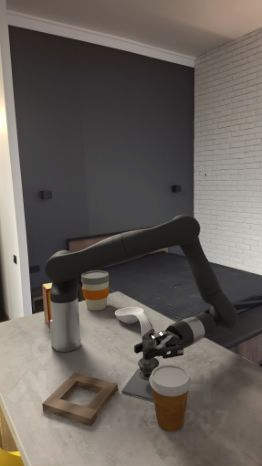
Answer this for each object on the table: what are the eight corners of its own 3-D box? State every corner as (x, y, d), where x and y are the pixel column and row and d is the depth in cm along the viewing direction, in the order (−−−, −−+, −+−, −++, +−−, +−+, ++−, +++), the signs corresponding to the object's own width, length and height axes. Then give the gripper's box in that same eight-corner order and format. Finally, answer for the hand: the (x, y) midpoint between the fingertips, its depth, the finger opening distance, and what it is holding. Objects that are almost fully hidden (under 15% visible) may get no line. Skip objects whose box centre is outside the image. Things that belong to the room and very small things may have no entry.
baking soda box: (48, 327, 126) (45, 288, 124) (44, 321, 132) (41, 283, 129) (72, 321, 131) (69, 283, 128) (67, 315, 136) (64, 279, 134)
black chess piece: (158, 382, 85) (156, 340, 83) (136, 380, 86) (134, 338, 84) (160, 369, 91) (159, 329, 89) (140, 367, 92) (138, 328, 90)
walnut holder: (42, 410, 80) (42, 403, 80) (74, 378, 93) (74, 372, 93) (91, 426, 75) (90, 418, 74) (117, 390, 87) (117, 383, 87)
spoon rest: (111, 317, 134) (110, 301, 133) (137, 312, 138) (136, 296, 137) (133, 343, 112) (133, 324, 111) (163, 336, 117) (163, 317, 116)
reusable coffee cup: (99, 314, 137) (97, 280, 135) (76, 308, 144) (74, 276, 141) (116, 304, 148) (114, 272, 145) (94, 299, 154) (92, 269, 152)
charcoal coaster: (121, 392, 86) (121, 390, 86) (137, 370, 96) (137, 368, 96) (160, 403, 82) (160, 401, 82) (173, 378, 92) (173, 376, 92)
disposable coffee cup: (147, 409, 80) (146, 364, 78) (185, 405, 81) (185, 361, 79) (153, 439, 71) (152, 390, 69) (196, 435, 71) (196, 386, 69)
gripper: (169, 313, 100) (123, 330, 91) (203, 329, 89) (156, 351, 79) (169, 335, 102) (125, 355, 92) (203, 354, 90) (157, 378, 80)
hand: (139, 353), depth 86 cm, fingers closed on black chess piece, 3 cm apart
